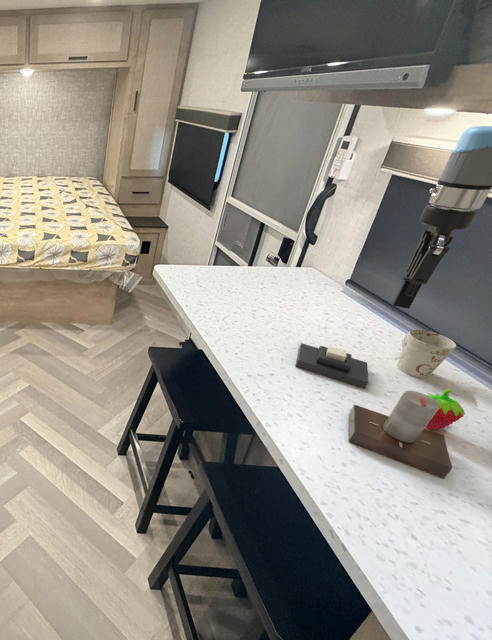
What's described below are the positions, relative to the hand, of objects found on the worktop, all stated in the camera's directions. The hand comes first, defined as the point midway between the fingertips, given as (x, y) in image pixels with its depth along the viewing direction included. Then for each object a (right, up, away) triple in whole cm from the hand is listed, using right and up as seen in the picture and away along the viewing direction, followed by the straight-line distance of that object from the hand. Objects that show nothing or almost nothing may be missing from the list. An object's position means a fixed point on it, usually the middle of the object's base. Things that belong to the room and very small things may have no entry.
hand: (400, 305), depth 93 cm
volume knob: (-14, -26, -13) cm, 32 cm away
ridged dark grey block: (-8, -17, +10) cm, 21 cm away
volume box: (-14, -28, -12) cm, 34 cm away
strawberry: (-3, -26, -7) cm, 27 cm away
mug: (+13, -16, +11) cm, 24 cm away
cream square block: (-8, -13, +8) cm, 18 cm away
